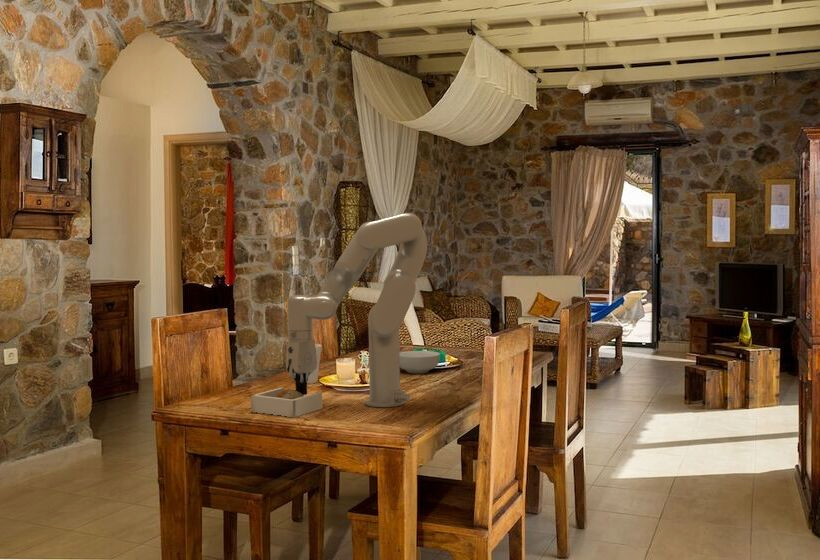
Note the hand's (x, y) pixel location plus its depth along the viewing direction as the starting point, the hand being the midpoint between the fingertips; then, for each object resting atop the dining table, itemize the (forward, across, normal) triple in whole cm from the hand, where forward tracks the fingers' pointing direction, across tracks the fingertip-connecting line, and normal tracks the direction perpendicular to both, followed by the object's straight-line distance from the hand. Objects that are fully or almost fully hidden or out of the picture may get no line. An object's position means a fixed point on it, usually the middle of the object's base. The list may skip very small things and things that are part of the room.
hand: (301, 394), depth 259 cm
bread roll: (+4, -6, 0) cm, 7 cm away
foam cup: (+4, +33, +23) cm, 40 cm away
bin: (+4, -7, 0) cm, 8 cm away
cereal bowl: (+4, +69, -1) cm, 69 cm away
